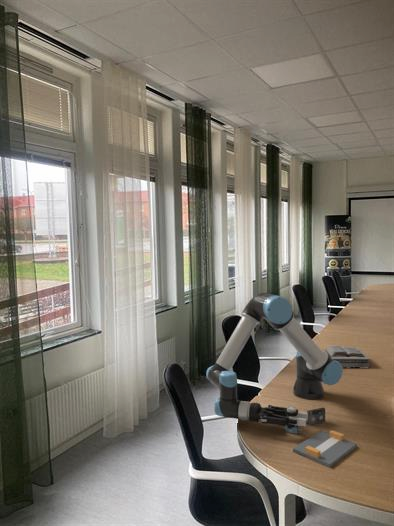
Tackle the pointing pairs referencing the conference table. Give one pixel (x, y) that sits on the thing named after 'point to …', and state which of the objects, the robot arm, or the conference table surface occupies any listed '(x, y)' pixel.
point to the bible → (348, 356)
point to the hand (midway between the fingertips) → (306, 419)
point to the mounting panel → (325, 447)
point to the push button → (292, 412)
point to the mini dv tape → (316, 416)
